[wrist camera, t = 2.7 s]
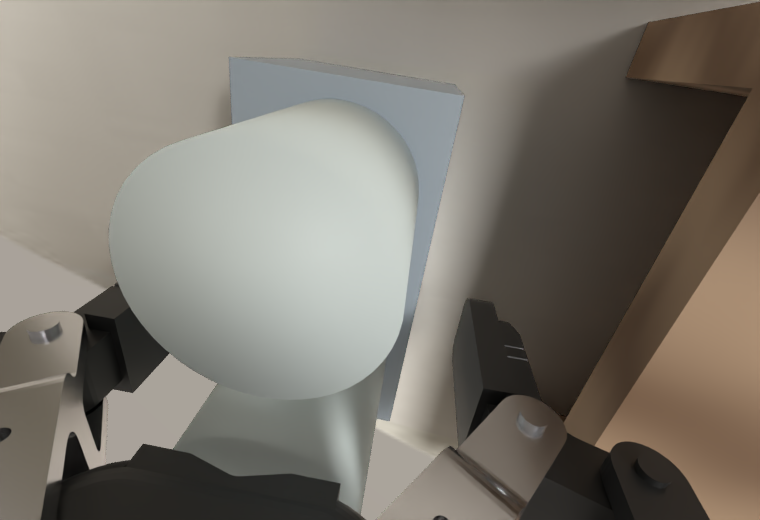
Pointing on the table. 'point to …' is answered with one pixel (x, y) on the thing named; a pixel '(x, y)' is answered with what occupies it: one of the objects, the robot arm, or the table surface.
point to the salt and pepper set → (291, 260)
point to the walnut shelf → (696, 290)
